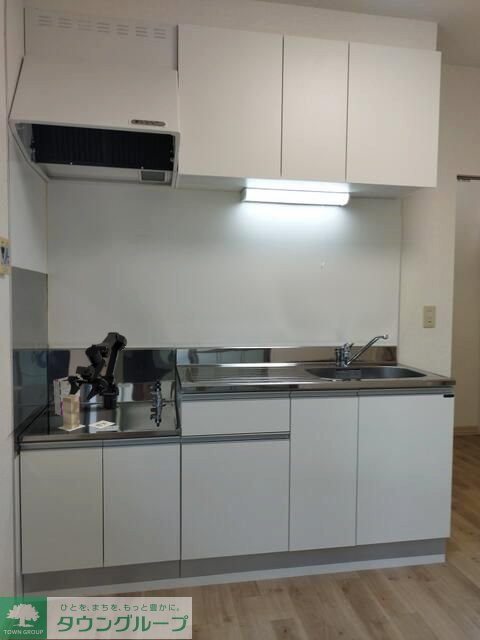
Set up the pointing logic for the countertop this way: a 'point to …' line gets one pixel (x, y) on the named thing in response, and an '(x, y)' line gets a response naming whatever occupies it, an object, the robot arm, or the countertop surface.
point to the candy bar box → (62, 394)
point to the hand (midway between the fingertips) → (78, 399)
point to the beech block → (71, 411)
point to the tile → (71, 429)
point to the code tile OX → (101, 424)
